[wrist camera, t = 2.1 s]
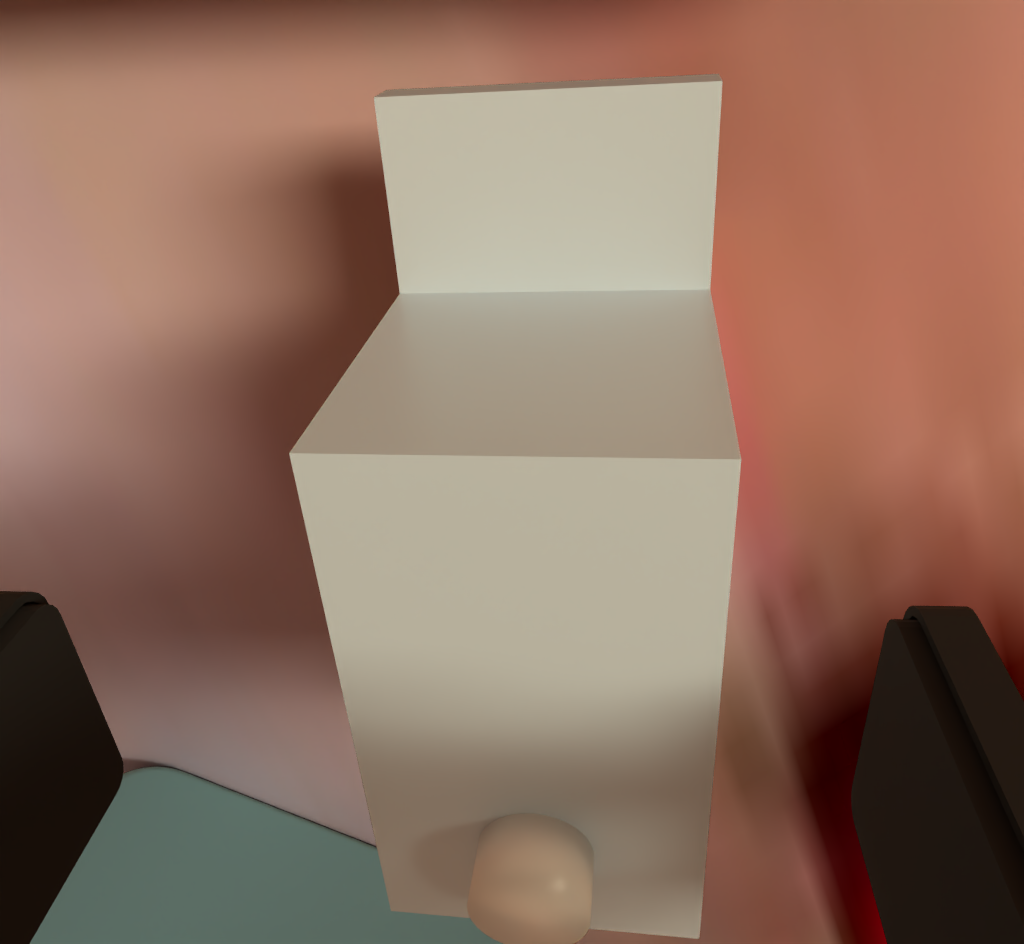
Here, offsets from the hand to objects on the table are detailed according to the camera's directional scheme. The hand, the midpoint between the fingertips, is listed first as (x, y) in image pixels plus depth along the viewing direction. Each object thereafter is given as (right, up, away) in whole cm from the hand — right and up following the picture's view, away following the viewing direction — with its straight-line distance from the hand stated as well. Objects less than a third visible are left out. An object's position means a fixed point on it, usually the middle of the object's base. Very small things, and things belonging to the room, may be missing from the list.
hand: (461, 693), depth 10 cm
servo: (+2, +4, +6) cm, 7 cm away
